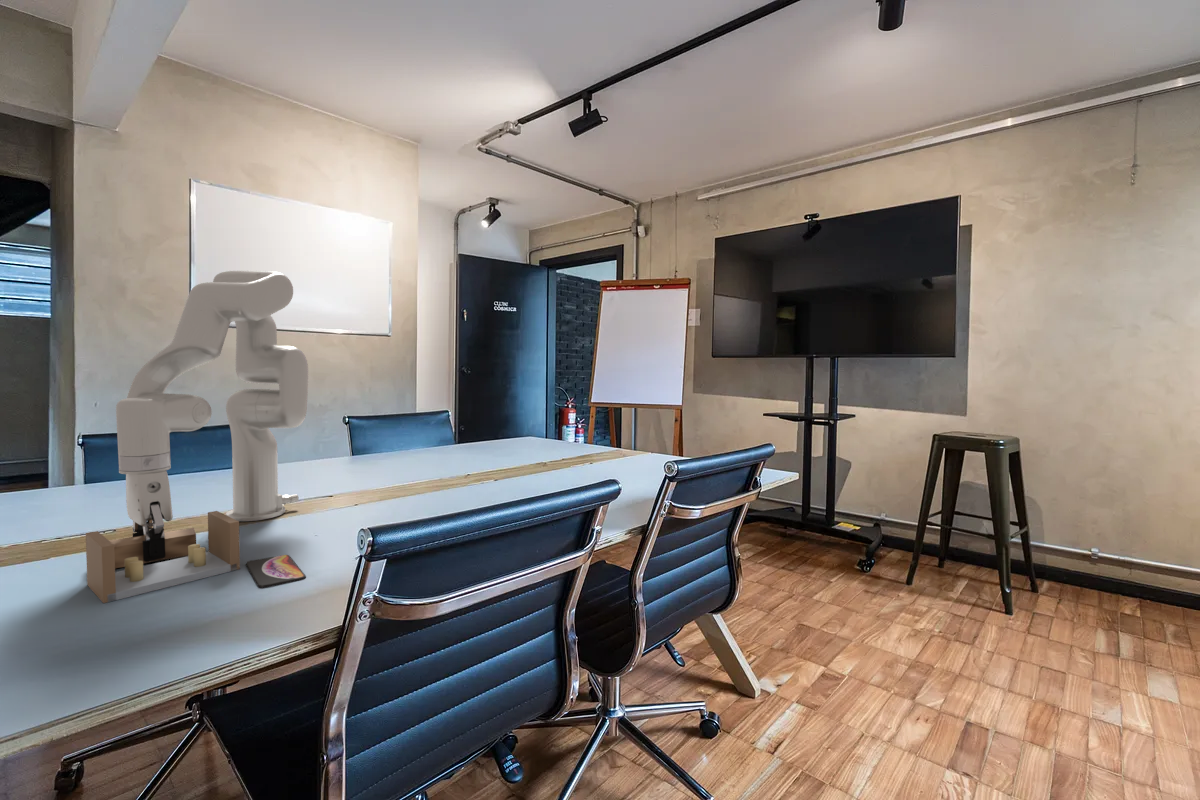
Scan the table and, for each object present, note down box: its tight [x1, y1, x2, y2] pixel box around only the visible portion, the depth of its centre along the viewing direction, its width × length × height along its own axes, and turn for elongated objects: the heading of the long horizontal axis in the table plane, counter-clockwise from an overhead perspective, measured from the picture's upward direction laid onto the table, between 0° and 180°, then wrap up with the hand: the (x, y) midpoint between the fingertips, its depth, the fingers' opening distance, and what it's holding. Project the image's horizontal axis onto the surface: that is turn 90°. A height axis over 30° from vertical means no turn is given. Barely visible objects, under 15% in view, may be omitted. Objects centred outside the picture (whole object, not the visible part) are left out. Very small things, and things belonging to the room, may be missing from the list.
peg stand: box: [85, 510, 241, 604], centre depth 96 cm, size 19×11×9 cm, turn 143°
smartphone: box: [245, 554, 307, 589], centre depth 100 cm, size 8×1×15 cm
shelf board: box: [109, 527, 197, 569], centre depth 104 cm, size 14×5×4 cm, turn 131°
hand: (149, 554), depth 104 cm, fingers closed on shelf board, 5 cm apart
